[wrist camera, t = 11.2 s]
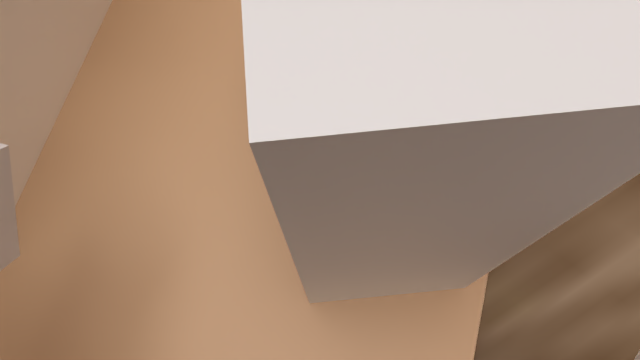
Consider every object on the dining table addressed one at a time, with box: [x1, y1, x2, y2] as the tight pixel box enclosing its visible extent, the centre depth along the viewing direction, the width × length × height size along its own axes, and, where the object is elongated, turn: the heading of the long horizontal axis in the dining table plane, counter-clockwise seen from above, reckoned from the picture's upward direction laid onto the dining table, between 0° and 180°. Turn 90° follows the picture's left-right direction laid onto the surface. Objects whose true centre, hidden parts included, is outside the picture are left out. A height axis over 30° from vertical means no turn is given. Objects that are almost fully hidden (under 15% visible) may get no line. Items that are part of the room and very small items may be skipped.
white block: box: [241, 0, 640, 303], centre depth 13 cm, size 5×9×13 cm, turn 5°
